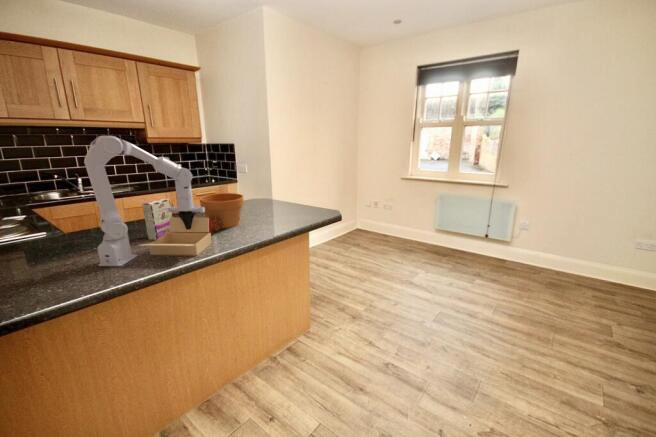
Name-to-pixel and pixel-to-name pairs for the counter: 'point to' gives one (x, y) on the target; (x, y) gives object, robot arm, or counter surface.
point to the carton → (181, 238)
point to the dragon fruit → (214, 224)
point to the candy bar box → (157, 218)
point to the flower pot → (223, 207)
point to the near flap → (167, 245)
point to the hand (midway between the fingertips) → (188, 228)
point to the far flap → (196, 226)
